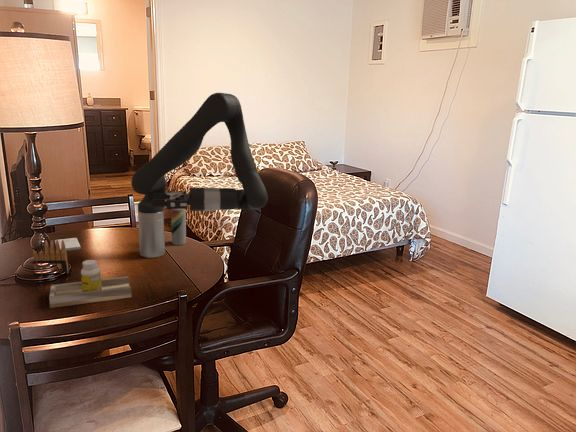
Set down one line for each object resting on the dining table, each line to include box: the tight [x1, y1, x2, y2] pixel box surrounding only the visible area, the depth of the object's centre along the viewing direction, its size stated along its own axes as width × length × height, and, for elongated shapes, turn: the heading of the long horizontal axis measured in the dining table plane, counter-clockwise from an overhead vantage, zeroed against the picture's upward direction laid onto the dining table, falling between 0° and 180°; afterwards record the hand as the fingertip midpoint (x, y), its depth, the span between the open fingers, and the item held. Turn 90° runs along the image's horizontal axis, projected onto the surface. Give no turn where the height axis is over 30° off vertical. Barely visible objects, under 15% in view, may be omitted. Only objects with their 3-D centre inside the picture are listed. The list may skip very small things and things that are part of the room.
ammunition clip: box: [32, 239, 70, 275], centre depth 150 cm, size 11×2×12 cm, turn 98°
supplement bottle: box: [80, 259, 102, 292], centre depth 136 cm, size 5×5×10 cm
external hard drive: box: [54, 237, 82, 252], centre depth 179 cm, size 2×8×12 cm
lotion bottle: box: [170, 209, 187, 246], centre depth 185 cm, size 6×6×20 cm
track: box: [48, 275, 132, 309], centre depth 137 cm, size 10×22×3 cm, turn 114°
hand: (152, 199), depth 140 cm, fingers open, 8 cm apart
